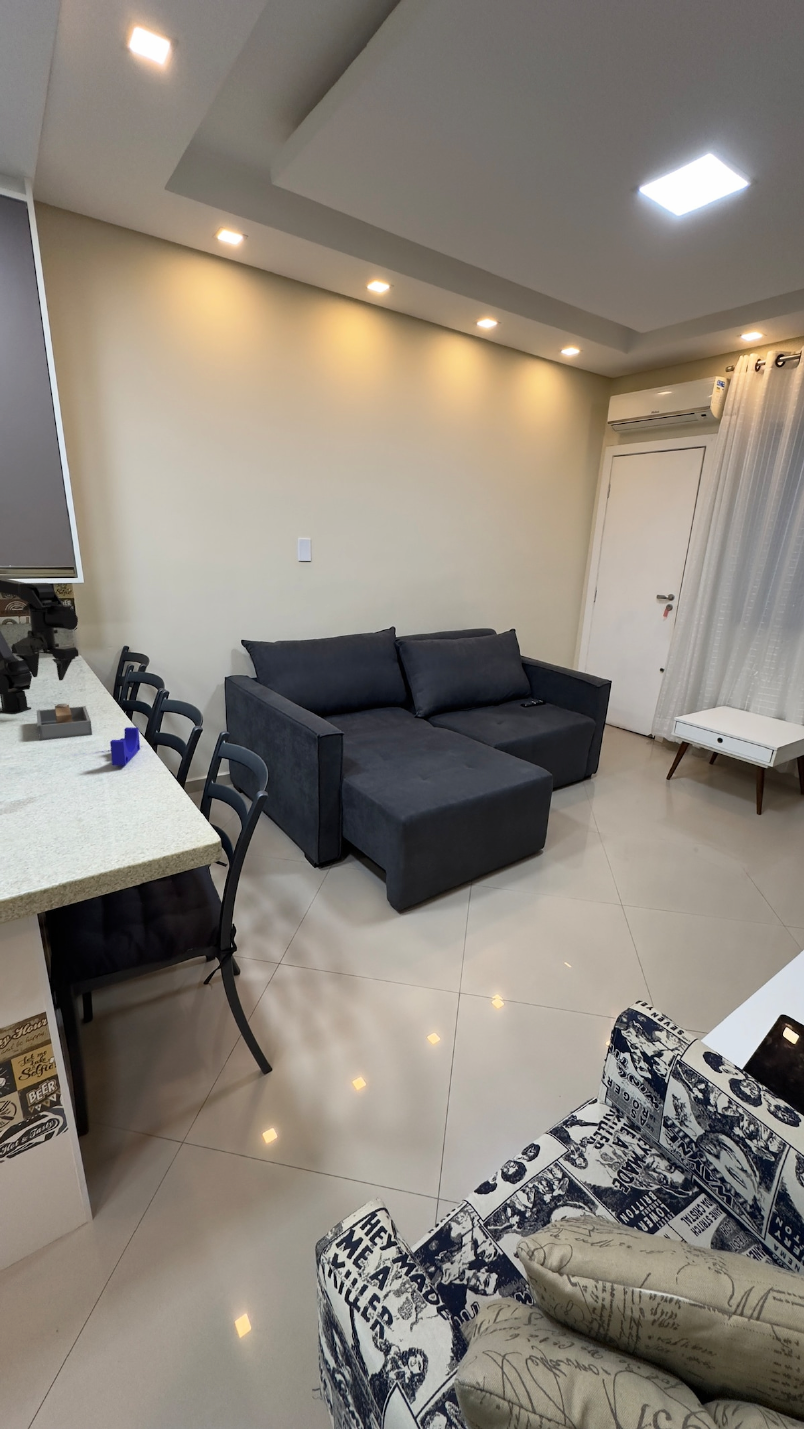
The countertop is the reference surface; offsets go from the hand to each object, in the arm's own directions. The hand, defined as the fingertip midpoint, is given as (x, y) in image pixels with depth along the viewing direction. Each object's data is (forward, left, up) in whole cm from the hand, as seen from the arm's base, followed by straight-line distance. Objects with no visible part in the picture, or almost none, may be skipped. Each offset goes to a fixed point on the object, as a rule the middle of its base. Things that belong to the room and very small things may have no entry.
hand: (48, 678), depth 176 cm
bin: (+13, -9, -12) cm, 20 cm away
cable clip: (+43, -23, -12) cm, 50 cm away
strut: (+13, -9, -11) cm, 19 cm away
